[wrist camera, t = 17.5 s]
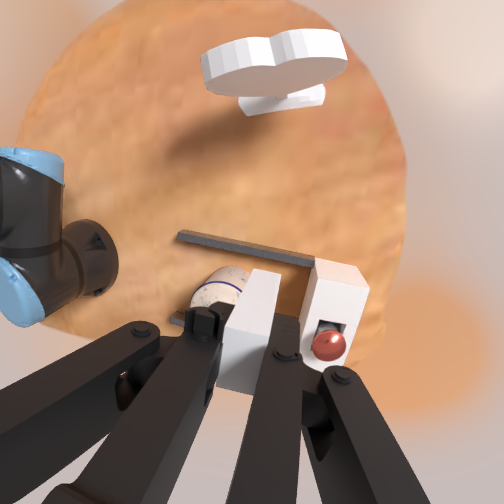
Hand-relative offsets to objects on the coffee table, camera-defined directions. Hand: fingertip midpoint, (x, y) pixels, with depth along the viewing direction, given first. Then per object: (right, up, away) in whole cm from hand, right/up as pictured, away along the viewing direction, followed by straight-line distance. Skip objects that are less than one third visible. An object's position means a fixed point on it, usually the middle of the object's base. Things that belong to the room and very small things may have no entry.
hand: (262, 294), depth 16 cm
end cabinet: (+11, -7, +32) cm, 34 cm away
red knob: (+10, -8, +26) cm, 29 cm away
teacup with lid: (-2, -4, +33) cm, 34 cm away
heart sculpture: (+4, +26, +25) cm, 36 cm away
